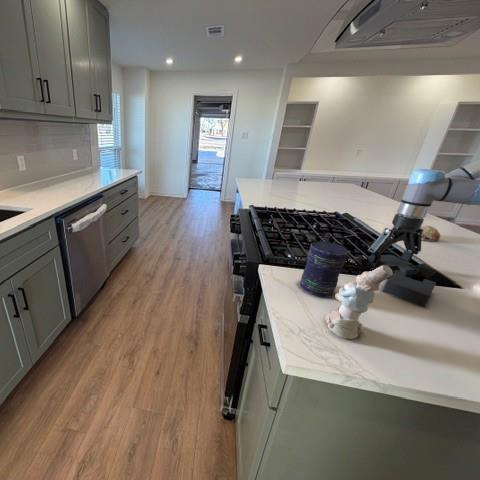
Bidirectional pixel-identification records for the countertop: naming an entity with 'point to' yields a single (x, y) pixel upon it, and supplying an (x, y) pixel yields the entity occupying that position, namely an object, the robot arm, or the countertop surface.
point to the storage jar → (323, 268)
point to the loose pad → (395, 264)
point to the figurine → (356, 302)
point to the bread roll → (430, 233)
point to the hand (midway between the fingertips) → (386, 268)
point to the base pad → (409, 288)
